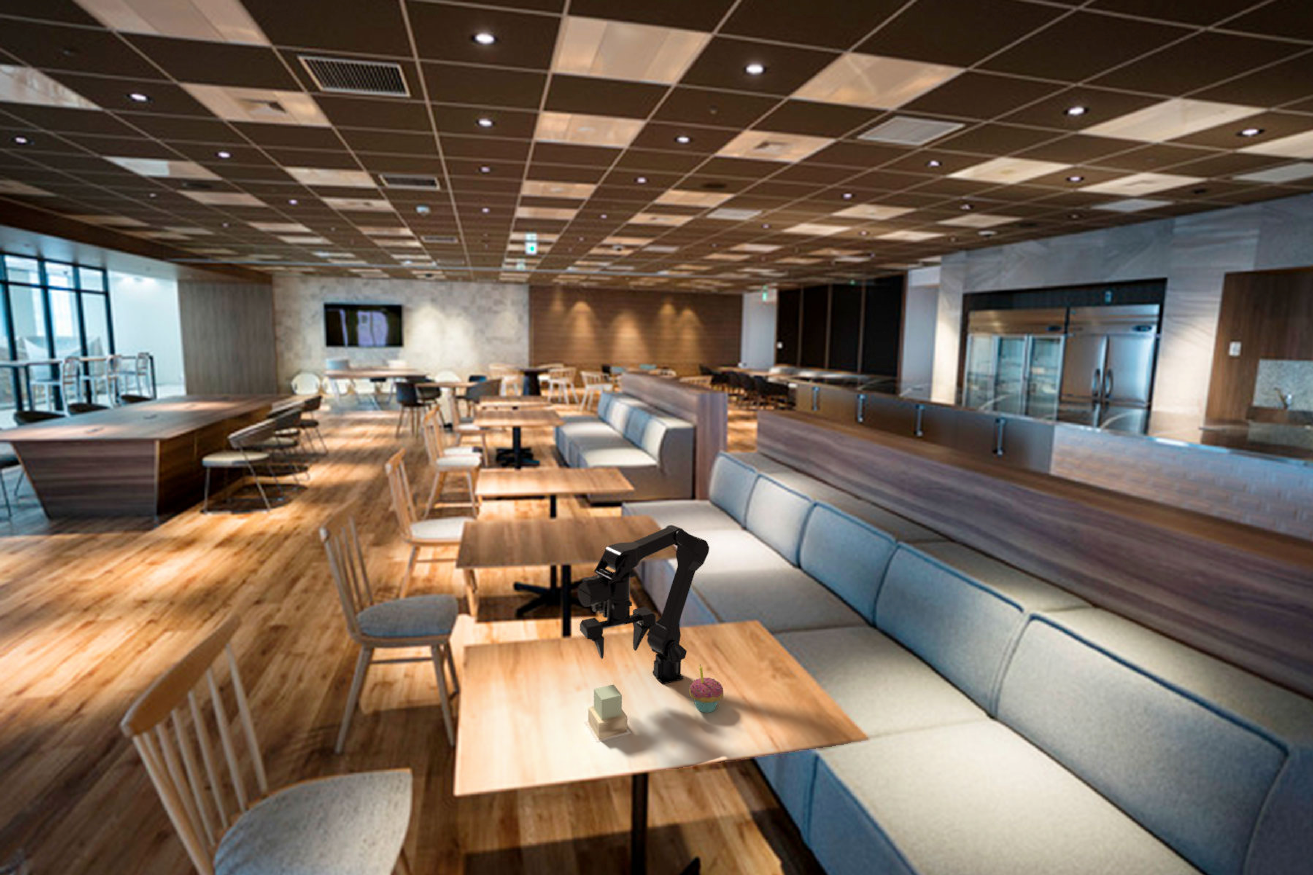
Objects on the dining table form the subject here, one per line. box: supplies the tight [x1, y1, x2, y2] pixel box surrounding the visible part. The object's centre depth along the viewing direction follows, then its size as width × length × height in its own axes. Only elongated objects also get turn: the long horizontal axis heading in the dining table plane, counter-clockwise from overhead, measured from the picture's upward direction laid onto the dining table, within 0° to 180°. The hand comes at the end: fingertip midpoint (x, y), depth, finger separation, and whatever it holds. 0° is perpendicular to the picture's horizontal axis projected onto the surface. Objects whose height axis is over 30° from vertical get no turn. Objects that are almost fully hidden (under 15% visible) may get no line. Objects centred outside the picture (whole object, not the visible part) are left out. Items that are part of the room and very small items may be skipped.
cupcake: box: [688, 663, 724, 713], centre depth 165 cm, size 9×8×12 cm
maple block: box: [587, 705, 628, 739], centre depth 155 cm, size 7×7×4 cm
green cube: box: [593, 684, 623, 720], centre depth 155 cm, size 5×5×5 cm
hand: (618, 653), depth 168 cm, fingers open, 9 cm apart
